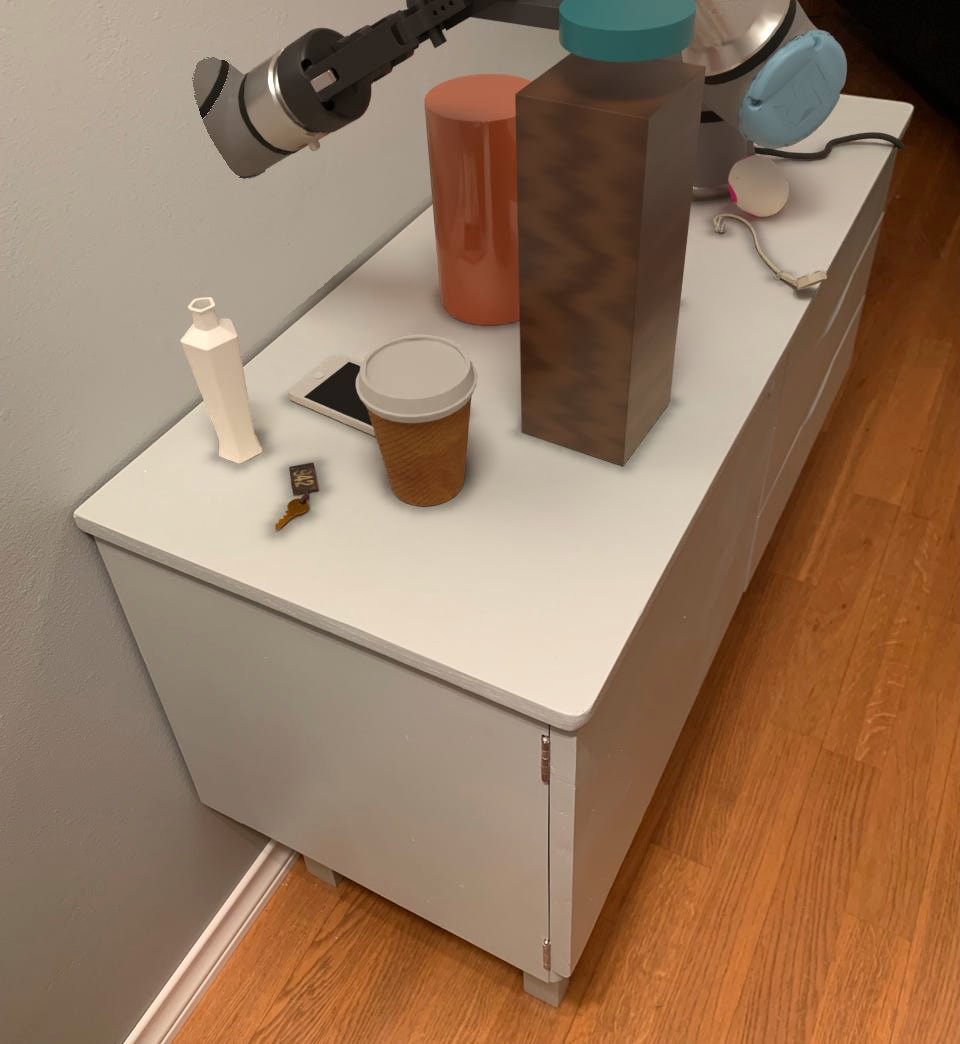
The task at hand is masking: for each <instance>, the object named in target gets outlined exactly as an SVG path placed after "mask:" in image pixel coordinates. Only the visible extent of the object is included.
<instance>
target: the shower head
mask: <svg viewBox="0 0 960 1044" xmlns="http://www.w3.org/2000/svg"><path fill="white" fill-rule="evenodd" d="M725 217H730V218H735V219H738V220H740V221H741V222H744V223H745V225H747V226H748V228H749V230H750V231H751V232H752V236H753V240H754V244H755V247H756V250H757V252H758V253H759V255H760V256H761V258H762V259H763V260H764V262H765V263H766V264H767V265H768V266H769V267H770V268H771V269H772V270H773V271H774V272H775V273H776V275H775V276H774V277H773V279H775V280H777V281H779V280H784V281H786V282H787V283H790V284H791V285H792V286H795V287H796V289H797V291H798V290H804V289H807V288H810V287H812V286H816V285H818V284H820V283H822V282H825V281H826V280H828V275H827V272H826V270H824V269H820V270H815V271H813V272H809V273H807V274H805V275H802V276H800V277H797V276H795V275H793V274H790V273H788V272H784V271H783V270H780V269H778V268H777V267H776V266H775V265H774V264H773V263H772V262H771V261H770V260H769V259H768V258H767V256H766V255H765V253H764V252H763V250H762V249H761V247H760V245H759V242H758V237H757V234H756V231H755V228H754V227H753V225H752V224H751V223H750V221H748V220H747V219H746V218H744V217H742V216H740V215H737V214H734V213H728V212H727V213H720V214H718V215H716V216H714V217H713V218H712V222H713V225H714V228H713V230H714V232H716V233H725V232H726V223H724V218H725Z"/></svg>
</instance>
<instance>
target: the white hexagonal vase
mask: <svg viewBox="0 0 960 1044" xmlns="http://www.w3.org/2000/svg"><path fill="white" fill-rule="evenodd" d="M215 307H216V303H215V301H214V299H213V297H211V296H207V297H197V298H194V299H193V300H192V301H191V302H190V303H189V304H188V306H187V309H188V310H190V313H191V317H192V319H193V323H192V324H191V325H190V326H189V328H188V329H187V330H186V332H185V333H184V335H183V336H182V337H181V338H180V344H181V346H182V348H183V351H184V354H185V356H186V359H187V362H188V364H189V366H190V369H191V371H192V374H193V376H194V379H195V382H196V384H197V387H198V389H199V392H200V394H201V397H202V400H203V403H204V405H205V407H206V411H207V412H208V415H209V418H210V420H211V422H212V425H213V428H214V430H215V433H216V435H217V438H218V441H219V442H218V456H219V457H220V458H223V459H226V460H228V461H229V462H233V463H235V464H238V465H239V464H242V463H244V462H246V461H248V460H250V459H252V458H254V457H256V456H258V455H259V454H261V453H262V452H264V451H263V447H262V445H261V443H260V440H259V438H258V436H257V434H256V433H255V429H254V424H253V416H252V411H251V405H250V400H249V395H248V388H247V383H246V377H245V370H244V363H243V360H242V353H241V348H240V343H239V341H240V340H239V337H238V336H239V335H238V333H237V331H236V329H235V327H234V325H233V322H232V320H231V319H230V318H218V317H217V313H216V309H215Z"/></svg>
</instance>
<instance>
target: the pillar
mask: <svg viewBox="0 0 960 1044" xmlns="http://www.w3.org/2000/svg"><path fill="white" fill-rule="evenodd" d="M705 72H706V66H701V65H695V64H689V63H682V62H676V61H670V60H664V59H655V60H649V61H641V62H606V61H598V60H592V59H587V58H584V57H580V56H577V55H575V54H572V53H570V52H569V53H568V54H567V55H566V56H564V58H562V59H561V60H559V61H558V62H557V63H555V64H554V65H552V66H551V67H549V69H547V70H546V71H544V72H543V73H541V74H540V75H539V76H537V77H536V78H535V79H533V80H531V81H532V82H531V83H529V84H528V85H527V86H525V87H524V88H523V89H521V90H520V91H518V92H517V93H516V94H515V110H516V163H517V215H518V267H519V356H520V357H519V363H520V364H519V365H520V366H519V367H520V368H519V369H520V371H519V372H520V413H521V414H520V415H521V416H520V417H521V419H520V420H521V424H520V425H521V433H523V434H526V435H529V436H531V437H535V438H537V439H540V440H544V441H547V442H550V443H553V444H556V445H559V446H562V447H565V448H567V449H571V450H573V451H577V452H580V453H582V454H585V455H588V456H592V457H594V458H598V459H600V460H602V461H603V460H604V461H607V462H610V463H612V464H615V465H618V466H621V467H624V466H625V465H626V463H627V462H628V460H629V459H630V458H631V456H632V455H633V454H634V452H635V451H636V450H637V448H638V447H639V446H640V444H641V443H642V442H643V440H644V439H645V437H646V436H647V434H648V433H649V432H650V430H651V429H652V427H654V424H656V422H657V421H658V420H659V418H660V417H661V415H662V414H663V413H664V411H665V410H666V409H667V407H668V406H669V405H670V400H671V393H672V383H673V373H674V365H675V356H676V346H677V337H678V328H679V319H680V311H681V300H682V292H683V282H684V272H685V265H686V256H687V244H688V237H689V229H690V228H689V227H690V218H691V209H692V202H693V200H692V191H693V182H694V173H695V164H696V155H697V145H698V136H699V127H700V118H701V109H702V99H703V90H704V81H705Z"/></svg>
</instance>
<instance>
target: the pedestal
mask: <svg viewBox="0 0 960 1044" xmlns="http://www.w3.org/2000/svg"><path fill="white" fill-rule="evenodd" d="M532 81H533V80H530V79H527V78H524V77H522V76H521V77H520V76H516V75H511V74H504V73H503V74H501V73H480V74H470V75H464V76H459V77H454V78H451V79H449V80H445V81H443V82H441V83H438V84H437V85H435V86H433V87H432V88H431V89H429V90H428V92H427V93H426V94H425V96H424V99H423V105H424V115H425V128H426V140H427V151H428V152H427V154H428V165H429V177H430V189H431V200H432V201H431V202H432V203H431V204H432V213H433V214H432V215H433V223H434V224H433V225H434V226H433V227H434V238H435V251H436V264H437V275H438V288H439V300H440V304H441V307H442V309H443V310H444V311H445V313H447V314H448V315H449V316H450V317H452V318H454V319H456V320H458V321H461V322H463V323H466V324H470V325H471V324H472V325H476V326H503V325H509V324H512V323H517V322H520V320H519V267H518V215H517V163H516V110H515V94H516V93H517V92H518V91H520V90H521V89H523V88H524V87H525V86H527V85H528V84H529V83H531V82H532Z"/></svg>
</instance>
